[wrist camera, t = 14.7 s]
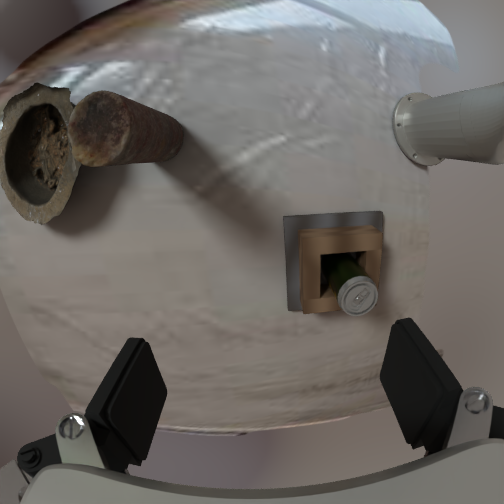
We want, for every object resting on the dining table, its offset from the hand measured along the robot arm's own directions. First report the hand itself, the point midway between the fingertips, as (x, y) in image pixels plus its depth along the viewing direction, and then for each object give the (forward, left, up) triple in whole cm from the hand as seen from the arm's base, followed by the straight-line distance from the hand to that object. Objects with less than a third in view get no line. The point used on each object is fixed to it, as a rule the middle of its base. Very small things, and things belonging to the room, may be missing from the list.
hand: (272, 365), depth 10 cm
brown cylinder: (+14, -12, -34) cm, 38 cm away
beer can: (-11, +10, -32) cm, 36 cm away
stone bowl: (+37, -15, -34) cm, 52 cm away
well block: (-11, +10, -33) cm, 36 cm away
